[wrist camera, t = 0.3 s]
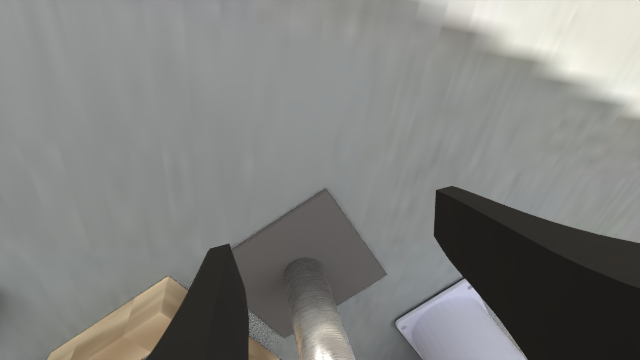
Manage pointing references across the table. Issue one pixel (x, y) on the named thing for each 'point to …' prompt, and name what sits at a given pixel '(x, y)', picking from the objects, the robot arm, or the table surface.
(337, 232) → the mat
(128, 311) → the hole block
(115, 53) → the table surface
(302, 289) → the peg
